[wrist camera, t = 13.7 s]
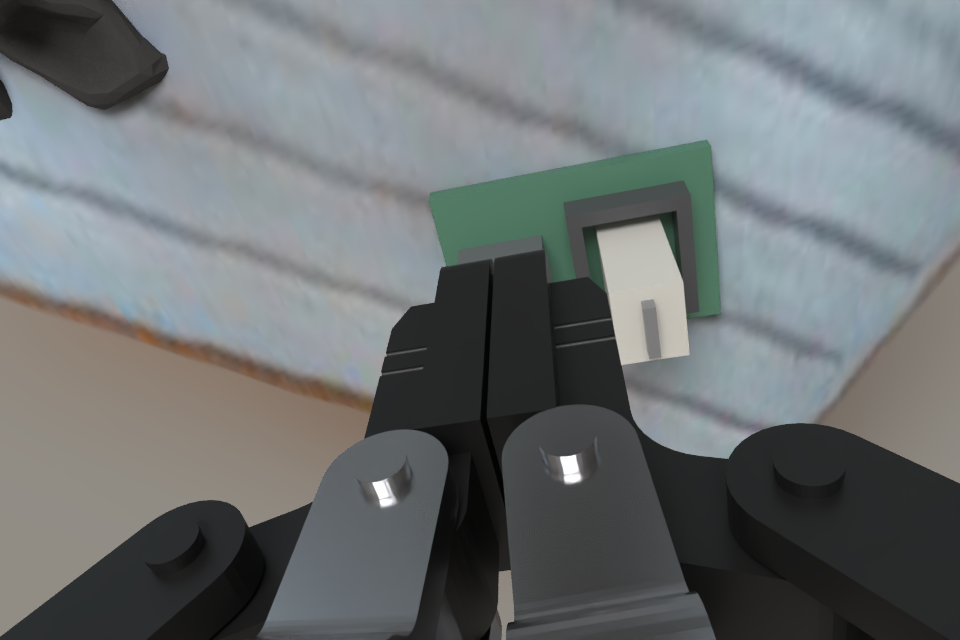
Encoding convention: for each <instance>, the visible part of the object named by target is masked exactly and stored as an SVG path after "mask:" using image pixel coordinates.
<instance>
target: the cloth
mask: <svg viewBox="0 0 960 640" xmlns="http://www.w3.org/2000/svg"><path fill="white" fill-rule="evenodd" d="M0 52H1V53H2V54H3V55H5V56H6V57H8V58H9V59H10V60H12V61H14V62H16V63H18V64H20V65H22V66H23V67H25V68H27V69H29V70H31V71H33V72H35V73H36V74H38V75H40V76H42V77H43V78H45V79H46V80H48V81H49V82H51V83H53V84H54V85H56V86H57V87H59V88H60V89H62V90H63V91H65V92H66V93H68V94H70V95H71V96H73V97H74V98H76V99H78V100H79V101H81V102H83V103H84V104H86V105H87V106H91V107H96V108H101V109H107V108H109V107H111V106H113V105H115V104H117V103H119V102H121V101H123V100H125V99H127V98H129V97H131V96H133V95H135V94H137V93H139V92H141V91H143V90H144V89H146V88H148V87H150V86H152V85H154V84H156V83H158V82H159V81H160V80H161V79H162V78H163V77H164V76H165V75H166V73H167V71H168V69H169V67H168V63H167V58H166V55H165V54H162V53H160V52H159V51H158V50H157V49H156V48H155V47H154V46H153V45H152V44H151V43H150V42H149V41H147V40H146V39H145V38H144V37H142V36H141V35H140V34H139V32H138V31H137V30H136V29H135V28H134V26H133V25H132V24H131V23H130V22H129V20H128V19H127V18H126V17H125V16H124V14H123V13H122V12H121V11H120V10H119V8H118V7H117V6H116V5H115V4H114V3H113V1H112V0H0ZM11 116H12V103H11V101H10V98H9V96H8V93H7V91H6V89H5V86H4V84H3V83H2V81H1V80H0V120H2V119H7V118H11Z"/></svg>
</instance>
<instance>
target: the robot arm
mask: <svg viewBox="0 0 960 640" xmlns="http://www.w3.org/2000/svg"><path fill="white" fill-rule="evenodd" d="M386 354H387V357H385V359H384V363H383V367H382V370H381V372H382V376H380V378H379V382H378V386H377V390H376V394H375V398H374V402H373V406H372V410H371V414H370V418H369V422H368V426H367V430H366V434H365V438H364V440H361V441H359V442H357V443H356V444H354V445H353V446H351V447H350V448H348V449H347V450H345V452H343V453H342V454H341V455H339V456H338V457H337V458H336V459H335V460H334V462H333V463H332V464H331V465H330V466H329V468H328V469H327V471H326V472H325V474H324V476H323V479H322V481H321V483H320V486H319V488H318V491H317V493H316V496H315V498H314V501H313V502H311V503H310V504H308V505H305V506H303V507H301V508H299V509H296V510H294V511H291V512H288V513H286V514H283V515H280V516H278V517H275V518H273V519H270V520H267V521H265V522H262V523H260V524H257V525H254V526H252V527H248V525H247V523H246V522H245V520H244V518H243V516H242V514H241V513H240V511H239V510H238V509H237V508H236V507H234V506H233V505H231V504H229V503H226V502H222V501H215V500H207V501H198V502H194V503H189V504H187V505H183V506H180V507H177V508H176V509H173V510H171V511H169V512H166V513H165V514H163V515H162V516H160V517H158V518H156V519H155V520H153V521H152V522H150V523H149V524H147V525H146V526H145V527H143V528H142V529H141V530H140V531H138V532H137V533H135V534H134V535H133V536H132V537H130V538H129V539H128V540H126V541H125V542H124V543H122V544H121V545H120V546H118V547H117V548H116V549H114V550H113V551H112V552H111V553H109V554H108V555H107V556H105V557H104V558H103V559H101V560H100V561H99V562H97V563H96V564H95V565H94V566H92V567H91V568H90V569H88V570H87V571H86V572H84V573H83V574H82V575H80V576H79V577H78V578H77V579H75V580H74V581H73V582H71V583H70V584H69V585H67V586H66V587H65V588H63V589H62V590H61V591H60V592H58V593H57V594H56V595H55V596H53V597H52V598H50V599H49V600H48V601H46V602H45V603H44V604H43V605H41V606H40V607H39V608H37V609H36V610H35V611H33V612H32V613H31V614H30V615H28V616H27V617H26V618H24V619H23V620H22V621H20V622H19V623H18V624H17V625H15V626H14V627H12V628H11V629H10V630H9V631H7V632H6V633H5V634H3V635H2V636H1V637H0V640H501V637H502V625H501V620H500V616H499V613H498V610H497V605H498V577H499V576H498V575H499V571H506V570H511V578H512V588H513V601H514V622H510V623H508V625H507V630H506V640H960V484H959V483H957V482H955V481H953V480H951V479H949V478H946V477H944V476H942V475H940V474H938V473H936V472H934V471H931V470H929V469H927V468H925V467H923V466H921V465H919V464H916V463H914V462H912V461H910V460H908V459H906V458H904V457H902V456H899V455H897V454H895V453H893V452H891V451H889V450H886V449H884V448H882V447H880V446H878V445H875V444H873V443H871V442H869V441H867V440H865V439H863V438H860V437H858V436H856V435H854V434H851V433H849V432H846V431H844V430H841V429H837V428H833V427H830V426H824V425H818V424H805V423H797V424H785V425H779V426H774V427H770V428H767V429H764V430H761V431H759V432H757V433H755V434H752V435H751V436H749V437H748V438H746V439H745V440H743V441H742V442H741V443H740V444H739V445H738V446H737V447H736V448H735V449H734V451H733V452H732V454H731V455H730V457H729V459H722V458H713V457H704V456H696V455H690V454H685V453H681V452H678V451H674V450H671V449H669V448H667V447H664V446H662V445H660V444H658V443H657V442H655V441H653V440H652V439H650V438H649V437H648V436H646V435H645V434H644V433H643V432H642V431H641V430H640V429H639V427H638V426H637V425H636V423H635V421H634V420H633V417H632V414H631V411H630V406H629V401H628V396H627V391H626V386H625V381H624V376H623V371H622V366H621V361H620V356H619V351H618V346H617V341H616V337H615V331H614V326H613V321H612V317H611V311H610V306H609V302H608V297H607V293H606V292H605V291H604V290H602V289H601V288H600V287H599V286H598V285H597V284H596V283H594V282H593V281H592V280H591V279H590V278H589V277H583V278H577V279H571V280H565V281H559V282H552V277H551V271H550V266H549V261H548V257H547V253H546V250H545V249H542V250H537V251H531V252H525V253H520V254H514V255H508V256H503V257H497V258H495V260H494V262H493V260H492V259H486V260H481V261H475V262H469V263H464V264H458V265H452V266H447V267H442V268H441V270H440V275H439V280H438V286H437V292H436V298H435V303H430V304H424V305H418V306H412V307H410V309H409V310H408V311H407V312H406V313H405V314H404V316H403V317H402V318H401V319H400V320H399V321H398V323H397V324H396V325H395V326H394V327H393V328H392V331H391V335H390V339H389V343H388V347H387V351H386Z"/></svg>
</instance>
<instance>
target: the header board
mask: <svg viewBox="0 0 960 640" xmlns="http://www.w3.org/2000/svg"><path fill="white" fill-rule="evenodd" d="M429 203H430V207H431V211H432V214H433V218H434V222H435V225H436V229H437V233H438V236H439V240H440V244H441V247H442V251H443V255H444V258H445V262H446V266H452V265H458V264H464V263H469V262H475V261H481V260H486V259H492V260H493V262H494V260H495V258H497V257H503V256H508V255H514V254H520V253H525V252H531V251H537V250H542V249H545V250H546V253H547V257H548V261H549V266H550V271H551V277H552V282H559V281H565V280H571V279H577V278H583V277H589V278H590V279H591V280H592V281H593V282H594V283H596V284H597V285H598V286H599V287H600V288H601V289H602V290H604V291H605V288H604V282H603V275H602V268H601V262H600V255H599V248H598V242H597V235H596V229H595V225H599V224H604V223H610V222H616V221H621V220H627V219H632V218H638V217H644V216H649V215H655V214H658V216H659V218H660V221H661V224H662V226H663V229H664V232H665V234H666V237H667V240H668V242H669V245H670V248H671V250H672V253H673V256H674V258H675V261H676V264H677V266H678V269H679V272H680V274H681V277H682V280H683V284H684V296H685V307H686V319H689V318H696V317H702V316H708V315H715V314H721V310H720V293H719V276H718V258H717V241H716V224H715V207H714V190H713V172H712V155H711V145H710V144H709V142H708V141H707V140H705V141H699V142H694V143H689V144H684V145H679V146H673V147H668V148H663V149H658V150H652V151H647V152H642V153H637V154H631V155H626V156H621V157H616V158H611V159H605V160H600V161H595V162H590V163H584V164H579V165H574V166H569V167H563V168H558V169H553V170H548V171H543V172H537V173H532V174H527V175H522V176H516V177H511V178H506V179H501V180H495V181H490V182H485V183H480V184H475V185H469V186H464V187H459V188H454V189H448V190H443V191H438V192H433V193H430V196H429Z"/></svg>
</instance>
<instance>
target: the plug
mask: <svg viewBox="0 0 960 640" xmlns="http://www.w3.org/2000/svg"><path fill="white" fill-rule="evenodd" d="M595 229H596V235H597V242H598V248H599V255H600V262H601V268H602V275H603V282H604V288H605V292H606V293H607V297H608V302H609V306H610V311H611V317H612V321H613V326H614V331H615V337H616V341H617V346H618V351H619V356H620V361H621V365H625V364H632V363H639V362H645V361H652V360H659V359H666V358H672V357H679V356H686V355H690V354H689V342H688V330H687V319H686V307H685V296H684V284H683V280H682V277H681V274H680V272H679V269H678V266H677V264H676V261H675V258H674V256H673V253H672V250H671V248H670V245H669V242H668V240H667V237H666V234H665V232H664V229H663V226H662V224H661V221H660V218H659V216H658V214H655V215H649V216H644V217H638V218H632V219H627V220H621V221H616V222H610V223H604V224H599V225H595Z"/></svg>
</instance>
